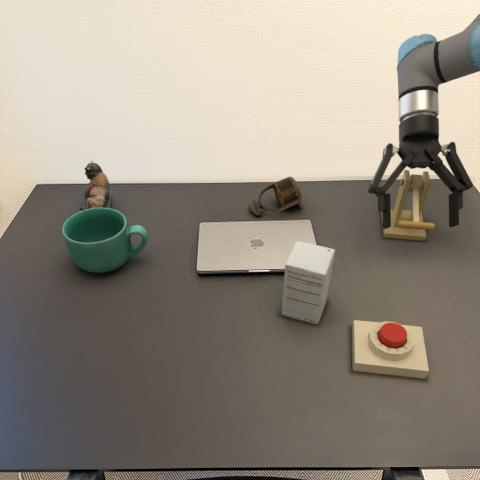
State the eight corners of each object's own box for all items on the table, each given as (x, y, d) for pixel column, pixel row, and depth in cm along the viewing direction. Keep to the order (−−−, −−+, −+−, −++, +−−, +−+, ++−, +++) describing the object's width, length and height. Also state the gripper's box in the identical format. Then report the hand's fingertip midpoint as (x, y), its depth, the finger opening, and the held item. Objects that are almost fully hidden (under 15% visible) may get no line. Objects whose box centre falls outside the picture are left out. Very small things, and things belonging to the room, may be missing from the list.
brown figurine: (110, 224, 109) (101, 186, 102) (79, 226, 109) (68, 187, 102) (115, 197, 118) (107, 159, 110) (87, 198, 117) (76, 160, 110)
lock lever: (431, 233, 96) (435, 226, 94) (396, 230, 97) (399, 223, 95) (429, 183, 102) (433, 175, 99) (396, 181, 102) (399, 173, 100)
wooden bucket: (307, 200, 106) (305, 169, 111) (251, 196, 105) (251, 165, 110) (301, 222, 112) (299, 192, 117) (248, 218, 111) (248, 188, 117)
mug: (65, 278, 96) (51, 241, 89) (85, 241, 105) (74, 205, 98) (144, 284, 95) (136, 247, 88) (158, 246, 104) (152, 209, 97)
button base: (418, 334, 85) (424, 319, 82) (425, 379, 78) (432, 364, 75) (351, 327, 86) (355, 312, 84) (352, 370, 80) (356, 355, 77)
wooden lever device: (425, 241, 104) (442, 189, 95) (383, 237, 105) (397, 186, 96) (419, 215, 111) (436, 165, 102) (381, 212, 112) (393, 162, 103)
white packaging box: (291, 290, 93) (296, 239, 84) (327, 300, 92) (337, 248, 82) (279, 315, 89) (283, 264, 80) (317, 326, 87) (326, 274, 78)
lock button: (403, 330, 81) (406, 323, 80) (405, 350, 78) (408, 343, 77) (377, 328, 82) (379, 321, 80) (378, 347, 79) (381, 340, 77)
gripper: (470, 126, 98) (472, 228, 98) (351, 129, 97) (353, 231, 98) (490, 111, 90) (492, 221, 91) (361, 114, 90) (363, 224, 90)
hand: (420, 227), depth 94 cm, fingers open, 13 cm apart
